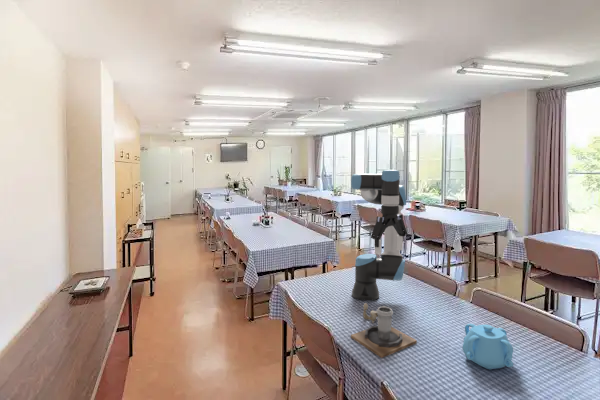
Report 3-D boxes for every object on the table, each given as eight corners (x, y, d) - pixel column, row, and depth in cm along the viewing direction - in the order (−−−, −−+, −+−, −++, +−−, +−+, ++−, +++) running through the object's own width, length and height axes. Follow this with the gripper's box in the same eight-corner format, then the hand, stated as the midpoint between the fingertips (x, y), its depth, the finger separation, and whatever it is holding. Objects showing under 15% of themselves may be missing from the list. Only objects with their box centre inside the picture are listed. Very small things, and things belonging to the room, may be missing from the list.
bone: (385, 318, 154) (376, 302, 152) (376, 328, 152) (367, 312, 149) (374, 312, 162) (365, 297, 159) (365, 322, 160) (356, 306, 157)
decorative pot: (513, 379, 112) (516, 342, 111) (461, 366, 120) (463, 330, 119) (510, 355, 127) (512, 322, 125) (463, 345, 134) (465, 313, 133)
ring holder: (384, 325, 151) (384, 319, 151) (416, 343, 136) (416, 336, 136) (350, 337, 141) (350, 331, 140) (381, 358, 125) (381, 351, 125)
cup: (389, 342, 134) (390, 314, 132) (373, 338, 137) (374, 310, 136) (394, 335, 140) (395, 308, 138) (379, 331, 143) (379, 304, 142)
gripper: (402, 202, 155) (401, 246, 157) (362, 206, 142) (362, 254, 144) (415, 203, 148) (414, 249, 150) (375, 207, 135) (374, 258, 137)
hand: (389, 252), depth 147 cm, fingers open, 13 cm apart
